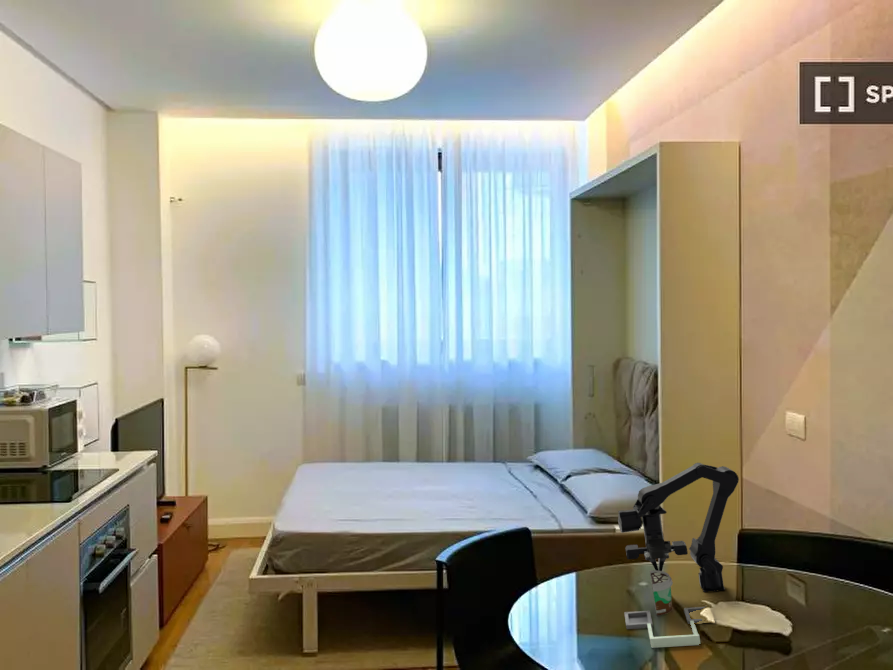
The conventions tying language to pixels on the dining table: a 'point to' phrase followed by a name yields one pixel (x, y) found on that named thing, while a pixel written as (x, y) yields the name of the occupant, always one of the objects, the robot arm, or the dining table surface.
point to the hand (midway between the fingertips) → (659, 576)
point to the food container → (661, 591)
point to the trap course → (644, 621)
